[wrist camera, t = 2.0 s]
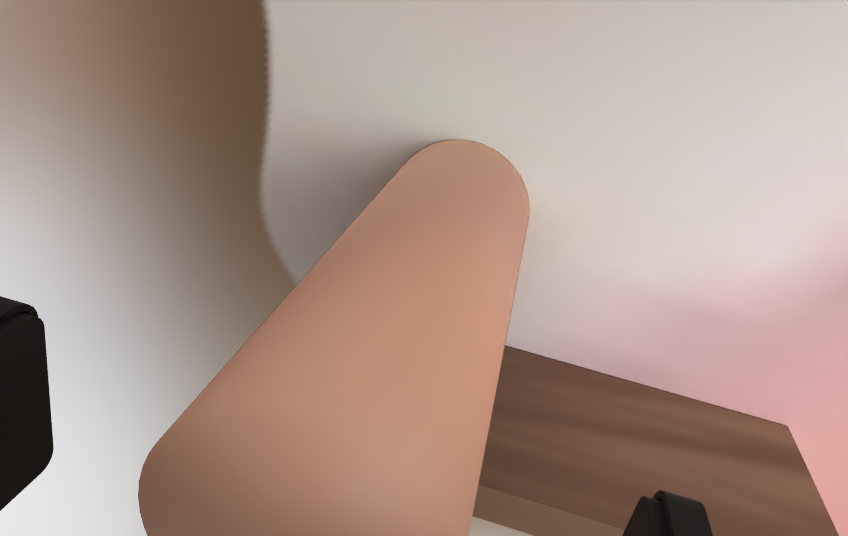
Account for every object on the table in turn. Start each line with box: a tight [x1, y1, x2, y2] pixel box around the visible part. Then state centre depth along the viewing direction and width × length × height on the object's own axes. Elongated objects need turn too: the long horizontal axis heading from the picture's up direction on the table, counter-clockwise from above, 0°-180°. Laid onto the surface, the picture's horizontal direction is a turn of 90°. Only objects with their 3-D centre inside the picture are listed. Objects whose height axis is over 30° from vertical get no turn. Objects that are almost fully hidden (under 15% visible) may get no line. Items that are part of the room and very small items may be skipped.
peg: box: [138, 140, 530, 536], centre depth 13 cm, size 4×4×12 cm
